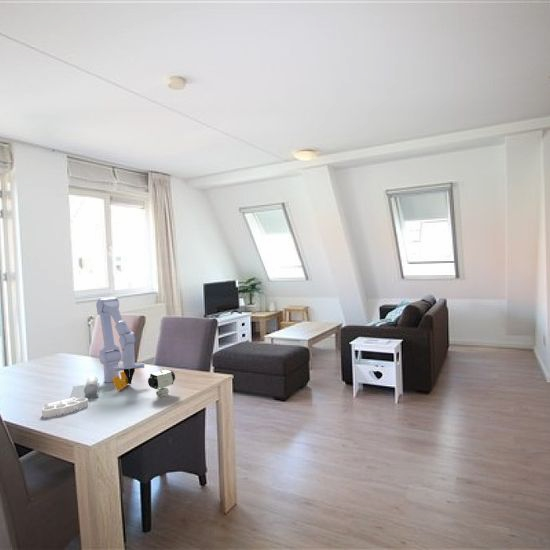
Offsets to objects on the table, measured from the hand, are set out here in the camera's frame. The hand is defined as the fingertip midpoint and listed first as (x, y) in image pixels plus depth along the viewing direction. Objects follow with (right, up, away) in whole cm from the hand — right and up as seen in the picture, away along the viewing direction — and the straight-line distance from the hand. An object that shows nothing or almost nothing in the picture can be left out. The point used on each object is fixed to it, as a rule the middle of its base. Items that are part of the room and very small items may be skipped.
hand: (130, 383), depth 204 cm
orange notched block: (-3, -1, -2) cm, 4 cm away
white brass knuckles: (-18, -4, -29) cm, 34 cm away
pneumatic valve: (+21, -2, -16) cm, 27 cm away
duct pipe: (-19, -3, -8) cm, 21 cm away
